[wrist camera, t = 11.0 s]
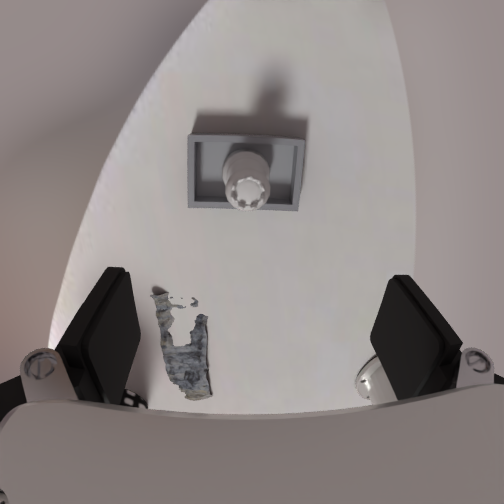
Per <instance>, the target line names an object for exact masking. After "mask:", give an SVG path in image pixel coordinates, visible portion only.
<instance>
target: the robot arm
mask: <svg viewBox="0 0 504 504" xmlns="http://www.w3.org/2000/svg"><path fill="white" fill-rule="evenodd" d="M140 336H141V333H140V327H139V322H138V317H137V312H136V307H135V301H134V296H133V290H132V284H131V278H130V274H129V272H125V269H124V268H122V267H108V268H107V269H106V270H105V271H104V273H103V274H102V276H101V277H100V279H99V280H98V282H97V283H96V285H95V286H94V288H93V289H92V291H91V292H90V294H89V295H88V297H87V298H86V300H85V302H84V303H83V304H82V305H81V307H80V308H79V310H78V312H77V313H76V315H75V316H74V318H73V320H72V321H71V323H70V325H69V326H68V328H67V330H66V331H65V333H64V335H63V336H62V338H61V340H60V341H59V343H58V345H57V347H56V348H55V350H53V349H49V348H41V349H36V350H34V351H32V352H30V353H29V354H28V355H27V356H25V358H24V359H23V361H22V362H21V365H20V375H19V376H17V377H15V378H13V379H11V380H8V381H6V382H4V383H1V384H0V504H504V378H503V377H501V376H499V375H497V374H494V364H493V361H492V360H491V358H490V357H489V356H488V355H487V354H486V353H485V352H484V351H482V350H480V349H477V348H467V349H465V350H464V351H463V352H461V351H460V347H461V345H462V344H463V342H462V341H461V340H460V338H459V337H458V336H457V334H456V333H455V332H454V330H453V329H452V328H451V326H450V325H449V324H448V322H447V321H446V320H445V318H444V317H443V316H442V315H441V313H440V312H439V311H438V310H437V308H436V307H435V306H434V305H433V303H432V302H431V301H430V300H429V298H428V297H427V296H426V295H425V294H424V292H423V291H422V290H421V289H420V287H419V286H418V285H417V284H416V283H415V281H414V280H413V279H412V278H411V277H410V276H409V275H394V276H393V278H392V279H390V280H389V281H388V284H387V287H386V291H385V294H384V297H383V300H382V303H381V306H380V309H379V312H378V315H377V317H376V320H375V323H374V326H373V329H372V331H371V335H370V340H371V344H372V346H373V348H374V350H375V352H376V354H377V357H376V358H374V359H373V360H372V361H370V362H369V363H368V364H367V365H366V366H365V367H364V368H363V369H362V371H361V372H360V373H359V375H358V377H357V379H356V383H355V385H356V390H357V393H358V394H359V396H361V397H362V398H364V399H368V400H371V403H372V405H369V406H362V407H354V408H346V409H338V410H328V411H317V412H304V413H288V414H249V415H240V414H204V413H187V412H174V411H164V410H153V409H144V408H135V407H127V406H120V402H121V398H122V395H123V392H124V388H125V385H126V382H127V378H128V375H129V372H130V369H131V366H132V363H133V360H134V357H135V354H136V351H137V348H138V345H139V342H140Z"/></svg>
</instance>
